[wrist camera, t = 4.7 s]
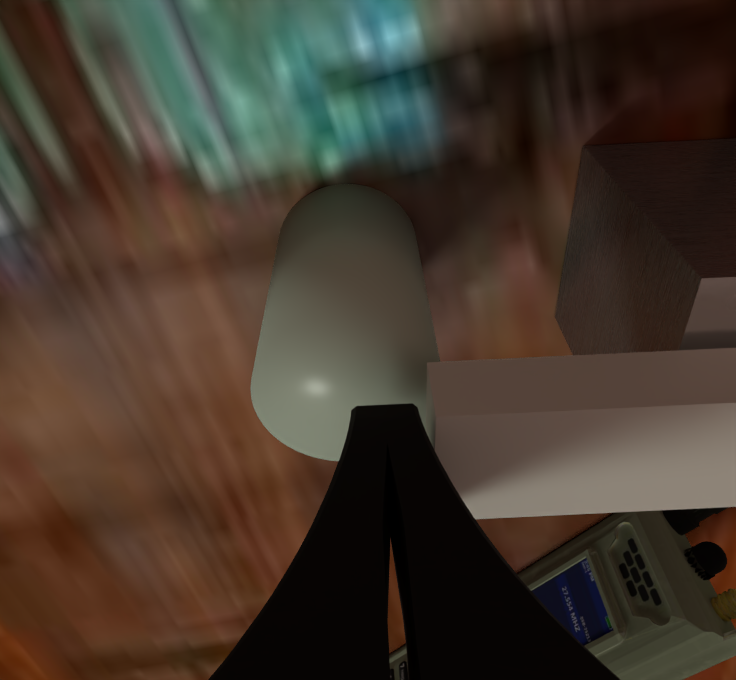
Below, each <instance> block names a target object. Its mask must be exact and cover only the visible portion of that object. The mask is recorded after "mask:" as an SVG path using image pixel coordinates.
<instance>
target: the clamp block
mask: <svg viewBox="0 0 736 680" xmlns="http://www.w3.org/2000/svg"><path fill="white" fill-rule="evenodd" d="M555 319H556V321H557V323H558V325H559V327H560V329H561V331H562V333H563V335H564V337H565V340H566V342H567V344H568V346H569V348H570V350H571V352H572V354H573V355H594V354H615V353H635V352H656V351H677V350H698V349H718V348H736V138H734V139H714V140H693V141H673V142H653V143H633V144H612V145H592V146H583V150H582V156H581V162H580V168H579V174H578V180H577V187H576V193H575V199H574V205H573V211H572V217H571V223H570V229H569V235H568V241H567V247H566V253H565V259H564V265H563V271H562V277H561V284H560V290H559V296H558V302H557V308H556V314H555Z"/></svg>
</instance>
